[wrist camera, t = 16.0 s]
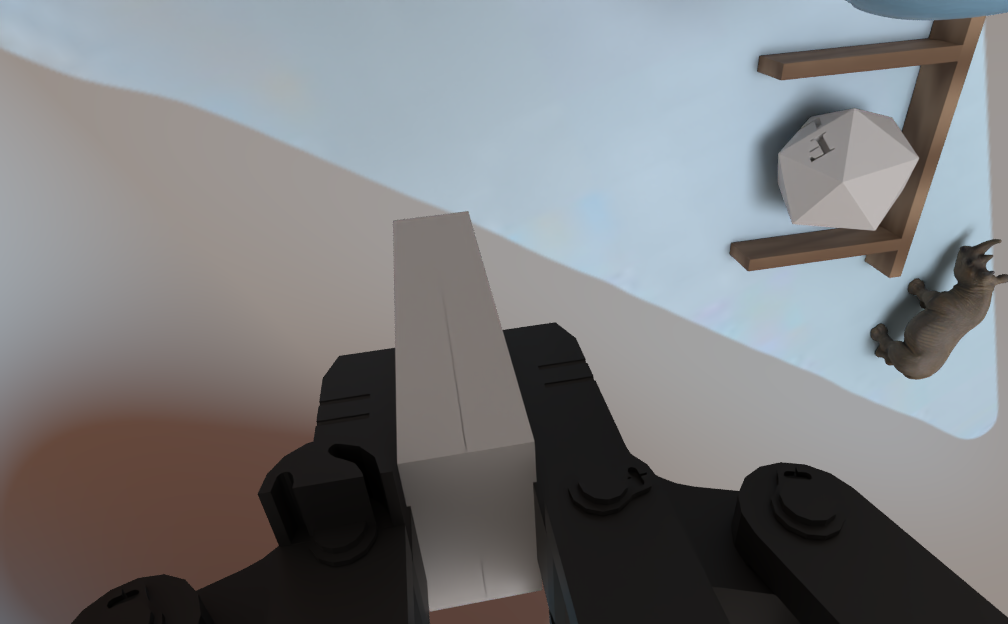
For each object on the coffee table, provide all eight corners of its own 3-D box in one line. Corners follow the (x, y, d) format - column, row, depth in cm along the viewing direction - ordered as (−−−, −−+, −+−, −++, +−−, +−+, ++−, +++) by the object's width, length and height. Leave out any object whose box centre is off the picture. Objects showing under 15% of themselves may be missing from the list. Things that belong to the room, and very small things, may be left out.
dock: (765, 14, 40) (791, 20, 37) (953, -4, 41) (990, 0, 38) (725, 280, 50) (743, 299, 48) (875, 259, 52) (900, 276, 49)
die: (868, 80, 44) (875, 82, 36) (928, 181, 44) (950, 206, 36) (760, 145, 48) (746, 160, 40) (816, 237, 49) (813, 269, 41)
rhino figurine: (988, 232, 52) (1052, 264, 47) (885, 357, 58) (932, 397, 53) (956, 218, 51) (1018, 250, 46) (854, 348, 57) (899, 388, 52)
